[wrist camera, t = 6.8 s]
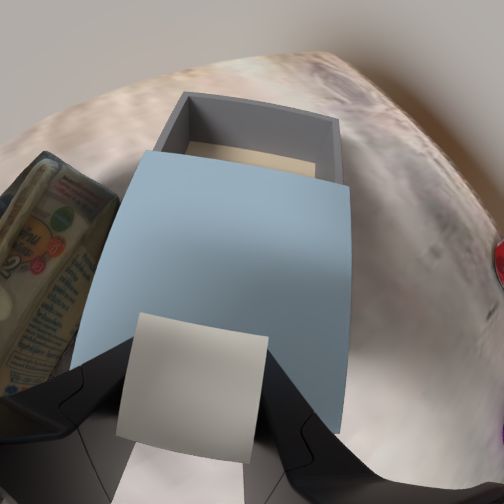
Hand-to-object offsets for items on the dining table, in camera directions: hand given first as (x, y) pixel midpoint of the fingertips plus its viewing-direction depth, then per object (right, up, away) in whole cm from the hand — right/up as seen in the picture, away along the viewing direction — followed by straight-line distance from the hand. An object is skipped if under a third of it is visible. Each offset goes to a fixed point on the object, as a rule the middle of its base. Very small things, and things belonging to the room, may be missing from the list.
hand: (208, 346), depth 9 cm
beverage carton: (-14, -2, +7) cm, 15 cm away
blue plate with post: (0, +2, +4) cm, 5 cm away
